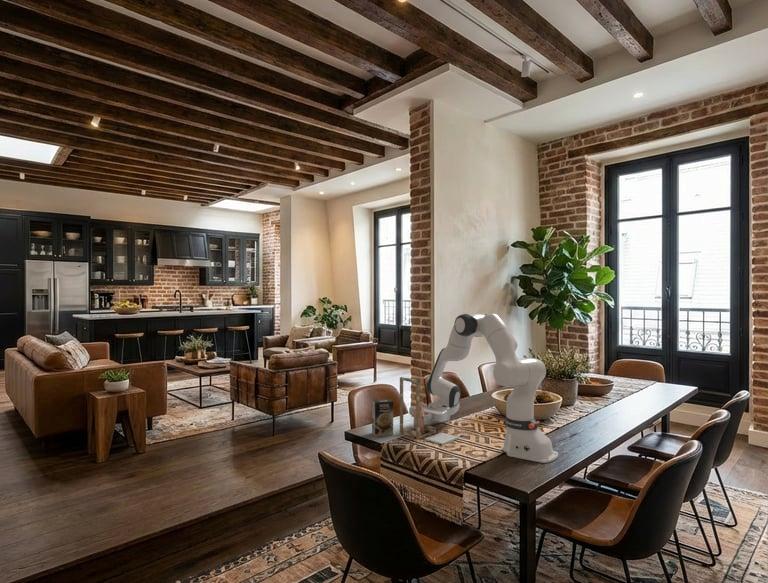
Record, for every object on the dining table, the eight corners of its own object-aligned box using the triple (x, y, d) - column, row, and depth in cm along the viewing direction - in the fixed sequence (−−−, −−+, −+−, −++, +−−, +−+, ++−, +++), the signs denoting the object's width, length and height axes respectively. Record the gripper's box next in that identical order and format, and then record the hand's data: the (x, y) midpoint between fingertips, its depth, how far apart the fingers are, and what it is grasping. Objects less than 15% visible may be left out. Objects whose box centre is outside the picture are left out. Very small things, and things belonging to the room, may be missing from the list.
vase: (426, 432, 222) (426, 403, 222) (419, 435, 218) (419, 405, 218) (418, 430, 225) (418, 401, 225) (411, 433, 221) (411, 403, 221)
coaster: (458, 438, 213) (458, 437, 213) (442, 445, 204) (442, 443, 204) (440, 434, 220) (440, 432, 220) (424, 440, 211) (424, 438, 211)
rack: (436, 432, 222) (436, 376, 222) (418, 439, 212) (418, 380, 212) (418, 427, 230) (418, 373, 230) (399, 434, 220) (399, 377, 220)
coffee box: (375, 437, 216) (375, 402, 216) (371, 432, 222) (371, 399, 222) (393, 435, 218) (393, 401, 218) (390, 431, 224) (389, 398, 224)
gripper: (419, 401, 238) (401, 406, 228) (452, 408, 224) (434, 413, 214) (419, 413, 238) (401, 418, 228) (452, 421, 224) (434, 427, 214)
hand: (417, 416), depth 221 cm, fingers closed on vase, 5 cm apart
